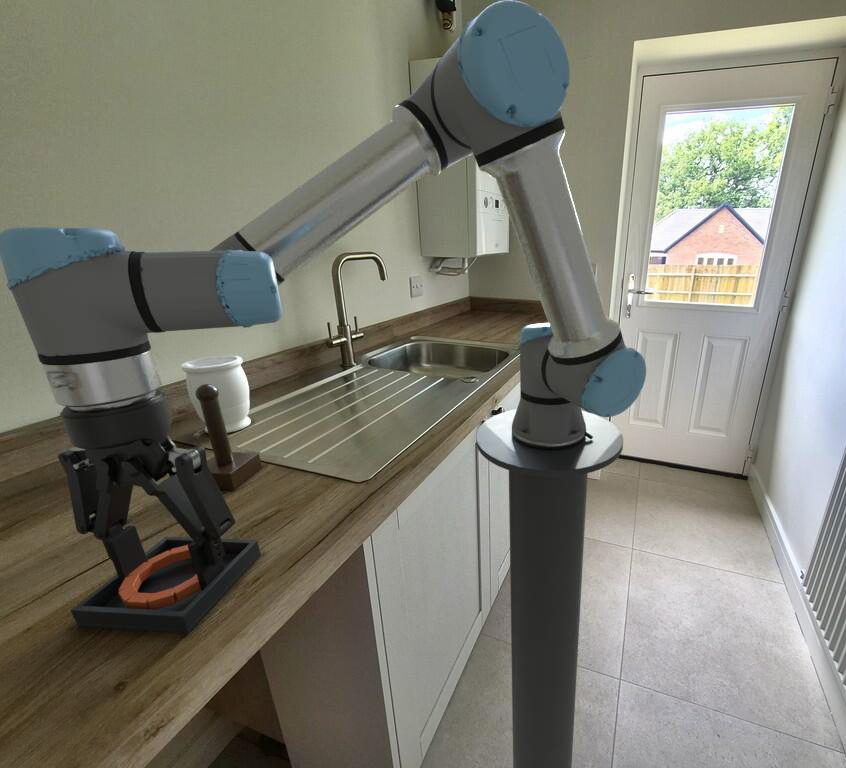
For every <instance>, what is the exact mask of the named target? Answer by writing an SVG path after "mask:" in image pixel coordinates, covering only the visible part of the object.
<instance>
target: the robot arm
mask: <svg viewBox="0 0 846 768" xmlns="http://www.w3.org/2000/svg"><path fill="white" fill-rule="evenodd" d="M570 75H571V73H570V62H569V57H568V53H567V50H566V47H565V44H564V42H563V40H562V38H561V36H560V34H559V32H558V31H557V29H556V28H555V26H554V25H553V23H552V22H551V21H550V20H549V19H548V18H547V17H546V16H545V15H544V14H543V13H540V12H538V11H537V10H535V8H533V6H532V5H530V4H528V3H525V2H523V1H520V0H499V1H497V2H494V3H492V4H490V5H488V6H487V7H486V8H484V9H483V10H482V11H481V12H480V13H479V14H478V15H477V16H475V17H473V18H471V19H470V20H469V21H468V22H467V23H466V24H465V26H464V27H463V29H462V31H461V33H460V35H458V37H457V39H456V40H455V41H454V42H453V43H452V44H451V46H450V47H449V48H448V50H447V51H446V52H445V53H444V54H443V55H442V56H441V57H440V58H439V60H438V61H437V63H436V64H435V65H434V66H433V67H432V69H431V71H430V72H429V73H428V75H426V77H425V78H424V80H423V81H422V82H421V83H420V85H419V86H417V88H416V89H415V90H413V92H412V93H411V94H410V95H409V96H408V97H406V98H405V99H404V100H403V101H401V102H399V103H398V104H397V105H396V106H394V107H393V108H392V111H391V112H392V114H391V120H390V121H389V122H387V123H386V124H385V125H384V126H381V128H380V129H378V130H376V131H375V132H374V133H372V134H371V135H370V136H368V137H367V138H365V139H364V140H363V141H361V142H359V143H358V144H357V145H355V146H354V147H353V148H351V149H350V150H348V151H347V152H346V153H344V154H343V155H342V156H340V157H338V158H337V159H336V160H335V161H333V162H332V163H330V164H329V165H328V166H326V167H324V169H322V170H321V171H319V172H317V173H316V174H315V175H314V176H312V177H311V178H310V179H307V181H305V182H304V183H303V184H301V185H300V186H298V187H297V188H295V189H294V190H293V191H291V192H290V193H289V194H288V195H286V196H284V197H283V198H282V199H280V200H279V201H277V202H276V203H275V204H273V205H271V206H270V207H269V208H268V209H266V210H265V211H264V212H262V213H261V214H259V215H258V216H256V217H255V218H254V219H252V220H251V221H250V222H248V223H247V224H245V225H244V226H243V227H241V228H240V229H239V230H237V231H236V232H234V233H233V234H232V235H230V236H228V237H227V238H225V239H224V240H222V241H221V242H220V243H218V244H217V245H216V246H214V247H213V248H211V249H210V250H190V251H189V250H188V251H187V250H186V251H156V252H151V251H150V252H145V251H135V250H126V248H125V246H124V245H122V243H121V240H120V237H119V236H118V235H117V234H116V233H115V232H114V231H112V230H109V229H105V228H91V227H90V228H88V227H51V226H50V227H49V226H47V227H46V226H36V227H35V226H33V227H32V226H23V227H21V226H20V227H18V226H17V227H10V228H6V229H4V230H2V231H0V259H1V263H2V265H3V270H4V273H5V276H6V279H7V283H6V286H7V288H8V291H11V294H12V296H13V299H14V301H15V303H16V306H17V308H18V310H19V312H20V315H21V317H22V320H23V323H24V325H25V327H26V330H27V332H28V334H29V337H30V339H31V342H32V344H33V346H34V349H35V352H36V355H37V358H38V360H39V363H41V366H42V368H43V371H44V374H45V376H46V380H47V381H48V385H49V387H50V390H51V393H52V395H53V398H54V401H55V403H56V404H57V405H59V406H63V409H62V410H61V412H60V413H59V416H60V419H61V421H62V424H63V426H64V429H65V431H66V434H67V436H68V439H69V442H70V444H71V445H72V446H74V447H72V448H70V449H68V450H66V451H63V452H61V453H59V454H58V455H57V459H58V461H59V463H60V465H61V466H62V468H63V471H64V472H65V474H66V479H67V485H68V491H69V495H70V501H71V507H72V512H73V518H74V523H75V529H76V531H77V533H79V534H80V535H86V534H89V533H91V534H93V536H94V538H96V539H97V540H99V541H102V545H103V547H104V550H105V551H106V553H107V557H108V558H109V560H110V561H111V562H112V564H113V566H114V569H115V572H116V575H117V574H118V577H119V579H120V582H121V584H122V583H123V581H124V579H125V577H128V575H129V574H130V573H131V572H132V571H134V570H135V569H136V568H138V567H139V566H140V565H141V564H143V563H144V562H147V558H146V555H145V552H146V551H145V549H144V546H143V544H142V541H141V538H140V535H139V532H138V530H137V527H136V525H128V524H130V523H131V522H132V521H133V520H134V519H133V518H131V517H129V511H130V505H131V499H132V494H133V487H134V486H136V487H139V488H142V490H143V491H144V492H145V494H146V495H148V496H150V497H156V498H157V499H158V500H159V502H160V503H161V504H162V505H163V506H164V507H165V509H166V510H167V511H168V512H169V513H170V515H171V516H173V518H174V520H176V522H177V523H178V524H179V525H180V527H181V528H182V529H183V531H185V532H186V533H187V535H188V536H189V537H191V538H192V539H193V541H192V542H191V543H190V544H189V545H188V549H189V552H190V555H191V558H192V561H193V565H194V568H195V571H196V574H197V577H198V580H199V583H200V587H201V590H202V591H203V590H204V589H205V588H206V587H207V586H208V585H209V584H210V583H211V582H212V581H213V580H214V579H215V578H216V577H217V576H218V575H219V574H220V573H221V572H222V571H223V570H224V569H225V567H224V563H223V560H222V558H223V557H224V555H225V552H224V549H223V546H222V541H221V539H222V538H221V537H223V535H225V534H226V533H227V532H228V531H229V530H230V529H231V528H232V527H233V526H234V525H235V524H236V519H235V517H234V515H233V513H232V512H231V510H230V507H229V506H228V505H229V504H228V503H227V501H226V500H225V497H224V496H223V493H222V492H221V489H219V488H218V486H217V484H216V482H215V480H214V478H213V476H212V474H211V472H210V470H209V468H208V466H207V461H208V459H207V452H206V449H205V447H203V446H202V445H196V446H194V447H192V448H190V449H189V448H181V447H177V445H176V443H175V442H174V441H173V440H172V439H171V437H170V435H169V432H170V428H171V426H172V424H173V416H172V413H171V410H170V407H169V403H168V400H167V396H166V394H165V392H163V391H161V390H159V389H160V388H161V387H162V385H163V381H162V378H161V375H160V372H159V369H158V365H157V363H156V359H155V356H154V353H153V350H152V346H151V343H150V339H149V336H148V335H149V334H152V333H153V334H159V333H160V334H161V333H165V332H177V331H178V332H179V331H192V330H206V329H207V330H208V329H223V328H238V327H239V328H240V327H242V328H243V329H244V328H251V327H253V326H258V325H265V324H266V325H267V324H273V323H277V322H278V321H280V320H281V319H282V317H283V308H282V301H281V296H280V290H279V286H280V285H282V284H283V283H284V282H285V281H287V280H288V279H289V278H290V277H291V276H293V275H294V274H296V273H297V272H298V271H299V270H301V269H302V268H303V267H305V266H307V265H308V264H309V263H310V262H312V261H313V260H314V259H316V258H317V257H318V256H320V255H321V254H322V253H324V252H325V251H326V250H327V249H328V248H330V247H331V246H333V245H334V244H335V243H337V242H338V241H340V240H341V239H342V238H343V237H345V236H346V235H348V234H349V233H350V232H352V231H353V230H354V229H355V228H357V227H358V226H359V225H360V224H362V223H363V222H364V221H366V220H367V219H368V218H370V217H372V215H374V214H375V213H377V212H378V211H379V210H380V209H382V208H383V207H384V206H386V205H387V204H389V203H390V202H391V201H393V200H394V199H395V198H397V197H398V196H399V195H401V194H402V193H403V192H404V191H406V190H407V189H408V188H410V187H411V186H413V185H414V184H415V183H416V182H418V181H419V180H420V179H422V178H423V177H424V176H426V175H430V176H433V177H437V176H438V175H440V174H441V173H443V172H444V171H445V170H446V169H448V168H449V167H451V166H453V165H454V164H456V163H457V162H460V161H461V160H463V159H466V158H469V157H471V156H473V157H474V159H475V162H476V164H477V167H478V169H479V171H481V172H482V173H485V174H487V175H488V176H490V177H492V178H494V180H495V182H496V184H497V187H498V190H499V192H500V195H501V197H502V201H503V204H504V205H505V209H506V211H507V214H508V217H509V219H510V222H511V225H512V227H513V230H514V233H515V235H516V238H517V241H518V244H519V247H520V248H521V252H522V254H523V258H524V260H525V263H526V265H527V268H528V270H529V274H530V277H531V279H532V282H533V284H534V287H535V289H536V292H537V295H538V297H539V300H540V303H541V306H542V309H543V311H544V315H545V317H546V319H547V322H543V323H534V324H529V325H526V326H523V328H522V329H521V331H520V337H519V343H518V347H519V386H520V387H519V388H520V392H519V393H520V394H519V395H520V398H519V402H518V404H517V408H516V409H517V410H516V413H515V416H514V419H513V422H512V436H513V438H514V439H515V440H516V441H517V442H518V443H520V444H522V445H524V446H527V447H530V448H534V449H540V450H562V449H568V448H571V447H574V446H577V445H579V444H580V443H582V442H583V441H584V439H585V437H586V436H587V437H588V438H589V439H592V438H593V436H591V435H590V434H589V433H587V432H586V424H585V421H584V417H583V414H582V411H585V412H588V413H592V414H595V415H597V416H600V417H602V418H612V417H616V416H618V415H620V414H622V413H624V412H625V411H627V410H628V409H629V408H630V407H631V406H632V405H633V404H634V403H635V401H636V400H638V397H639V396H640V393H641V391H642V389H643V388H644V385H645V382H646V378H647V365H646V364H647V363H646V360H645V357H644V356H643V355H642V354H641V353H640V352H639V351H637V350H636V349H635V348H633V347H627V345H626V344H625V340H624V337H623V333H622V330H621V329H622V328H621V327H620V324H619V322H618V321H617V320H615V319H613V318H610V317H608V316H607V314H606V311H605V308H604V304H603V301H602V297H601V293H600V289H599V286H598V283H597V279H596V276H595V273H594V270H593V265H592V262H591V260H590V255H589V252H588V248H587V245H586V242H585V238H584V235H583V232H582V228H581V225H580V221H579V218H578V214H577V211H576V207H575V204H574V200H573V197H572V194H571V191H570V190H571V189H570V187H569V184H568V180H567V177H566V176H567V175H566V173H565V169H564V166H563V163H562V160H561V156H560V147H561V144H562V142H563V139H564V137H565V134H566V132H567V131H566V127H565V123H564V119H563V115H562V112H561V109H562V107H563V105H564V103H565V101H566V98H567V94H568V93H567V89H568V88H569V86H570V79H571V78H570ZM582 409H583V410H582ZM167 475H169V476H168V477H167V478H166V479H164V478H165V477H166V476H167ZM162 479H164V480H162ZM160 480H162V481H161V482H159V481H160ZM158 482H159V483H158ZM126 525H128V526H126ZM125 526H126V527H125ZM124 527H125V528H124Z"/></svg>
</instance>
